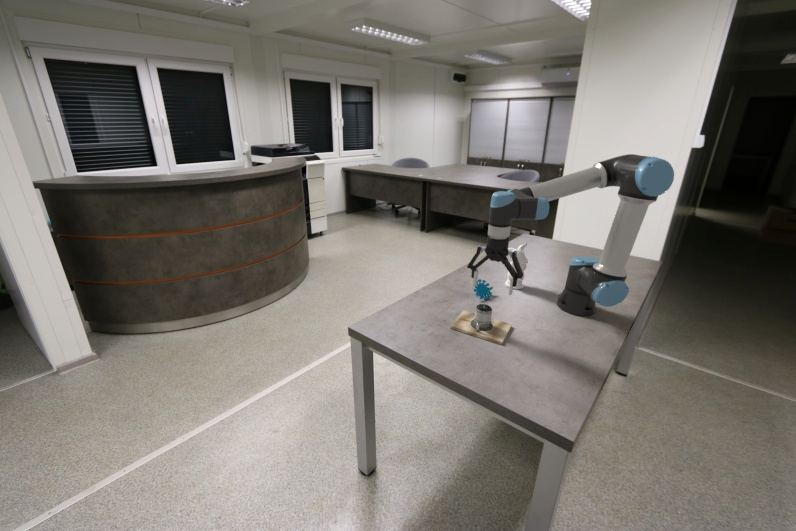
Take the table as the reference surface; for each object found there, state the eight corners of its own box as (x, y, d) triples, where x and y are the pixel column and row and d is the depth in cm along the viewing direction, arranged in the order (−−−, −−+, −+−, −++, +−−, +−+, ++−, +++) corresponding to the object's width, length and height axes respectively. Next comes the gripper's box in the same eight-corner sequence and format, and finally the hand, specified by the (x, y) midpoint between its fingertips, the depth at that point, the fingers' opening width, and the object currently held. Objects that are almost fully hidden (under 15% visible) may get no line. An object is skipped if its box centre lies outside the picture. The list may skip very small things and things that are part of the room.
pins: (487, 319, 140) (488, 312, 139) (478, 332, 131) (479, 325, 130) (484, 318, 141) (485, 311, 140) (475, 331, 132) (476, 324, 131)
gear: (478, 299, 154) (472, 278, 158) (470, 304, 159) (464, 283, 162) (497, 298, 159) (491, 278, 162) (489, 302, 164) (483, 282, 167)
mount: (511, 326, 137) (512, 323, 137) (501, 344, 126) (502, 341, 126) (463, 312, 147) (463, 310, 146) (450, 328, 136) (450, 325, 135)
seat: (495, 323, 137) (495, 322, 137) (488, 333, 131) (488, 332, 131) (474, 317, 141) (474, 316, 141) (467, 326, 135) (467, 326, 134)
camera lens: (472, 327, 134) (474, 309, 131) (474, 318, 140) (476, 301, 136) (489, 330, 132) (492, 312, 129) (490, 321, 138) (493, 304, 135)
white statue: (515, 292, 165) (522, 249, 157) (493, 283, 174) (498, 241, 165) (529, 284, 173) (536, 243, 164) (507, 276, 181) (512, 236, 172)
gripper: (537, 238, 121) (528, 293, 129) (468, 228, 133) (464, 279, 141) (533, 244, 115) (524, 301, 123) (461, 233, 127) (457, 286, 135)
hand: (492, 289), depth 132 cm, fingers open, 13 cm apart
